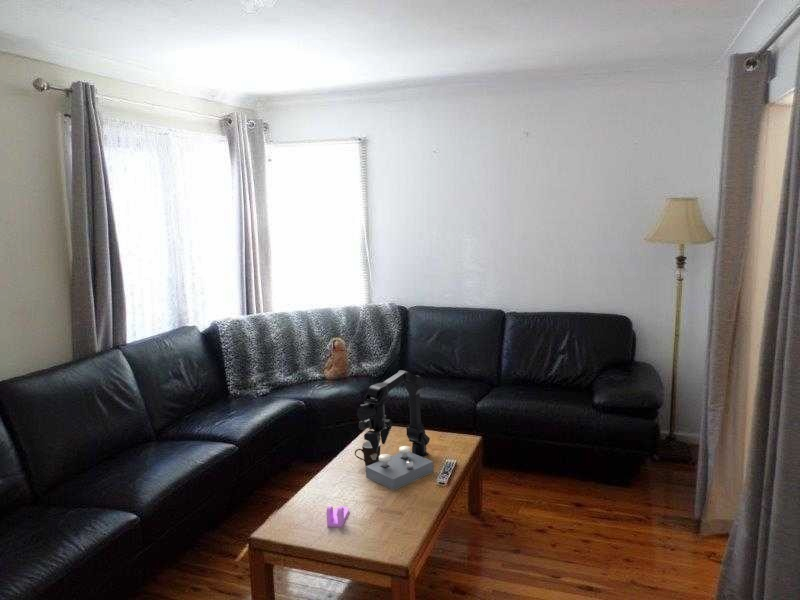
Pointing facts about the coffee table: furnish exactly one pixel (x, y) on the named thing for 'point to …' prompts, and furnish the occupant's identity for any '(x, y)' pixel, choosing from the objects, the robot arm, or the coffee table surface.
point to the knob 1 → (384, 459)
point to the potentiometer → (409, 465)
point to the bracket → (336, 516)
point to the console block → (399, 471)
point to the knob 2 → (404, 451)
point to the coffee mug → (369, 453)
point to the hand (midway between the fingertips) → (379, 448)
